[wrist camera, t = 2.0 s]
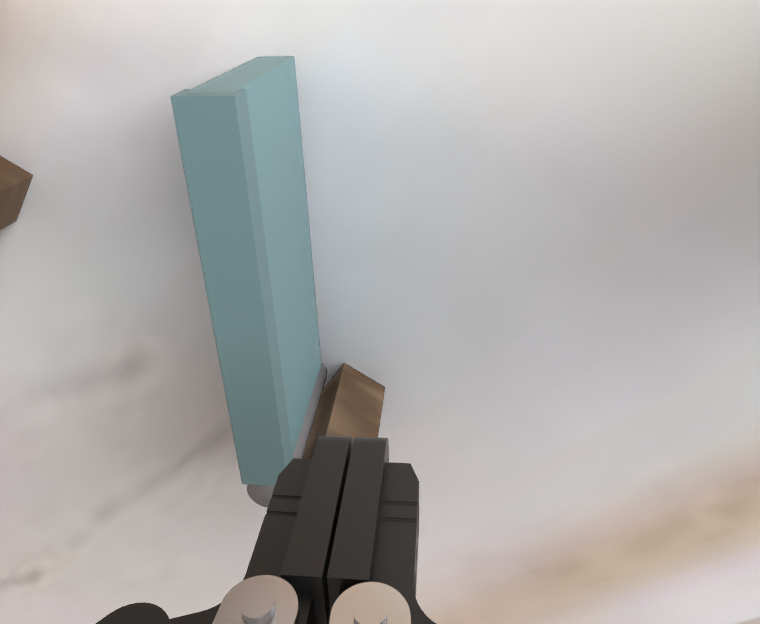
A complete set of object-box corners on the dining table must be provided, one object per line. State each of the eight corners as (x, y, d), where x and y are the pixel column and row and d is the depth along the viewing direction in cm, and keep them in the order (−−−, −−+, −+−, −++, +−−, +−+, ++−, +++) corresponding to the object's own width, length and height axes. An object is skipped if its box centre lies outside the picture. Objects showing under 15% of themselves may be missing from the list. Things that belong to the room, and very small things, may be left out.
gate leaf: (328, 386, 36) (291, 516, 27) (294, 385, 36) (247, 513, 27) (300, 54, 27) (234, 95, 18) (255, 55, 27) (170, 96, 19)
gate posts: (387, 384, 36) (366, 537, 26) (356, 420, 37) (325, 577, 28) (-27, 135, 31) (-242, 213, 21) (-44, 189, 32) (-250, 285, 23)
